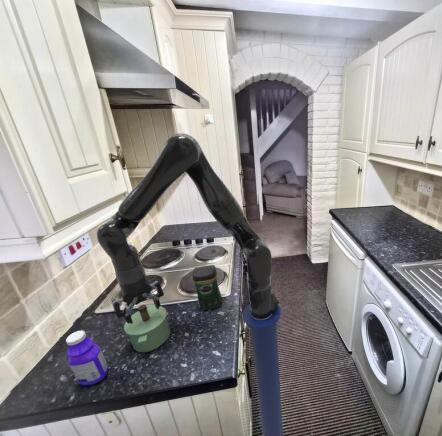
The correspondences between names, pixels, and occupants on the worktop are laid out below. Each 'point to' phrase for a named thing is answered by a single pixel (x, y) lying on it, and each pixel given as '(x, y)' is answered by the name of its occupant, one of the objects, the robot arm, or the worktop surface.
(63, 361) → the worktop surface
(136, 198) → the robot arm
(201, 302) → the coffee jar
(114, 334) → the worktop surface
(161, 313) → the lid
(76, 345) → the bottle
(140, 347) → the pot
